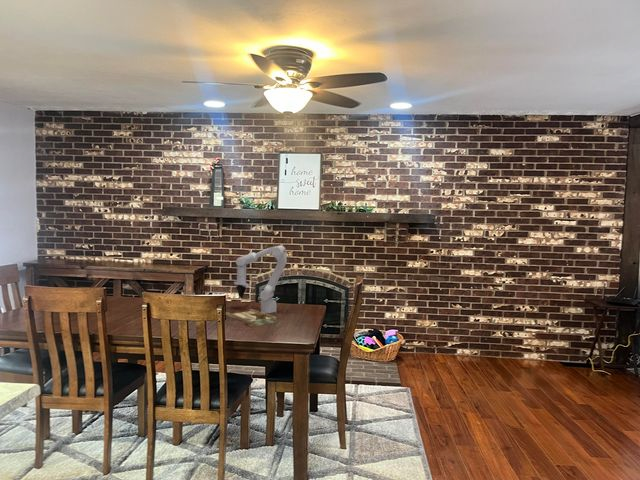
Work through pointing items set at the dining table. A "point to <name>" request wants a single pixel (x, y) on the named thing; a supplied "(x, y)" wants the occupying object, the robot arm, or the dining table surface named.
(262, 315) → the walnut block
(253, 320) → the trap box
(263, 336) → the dining table surface
